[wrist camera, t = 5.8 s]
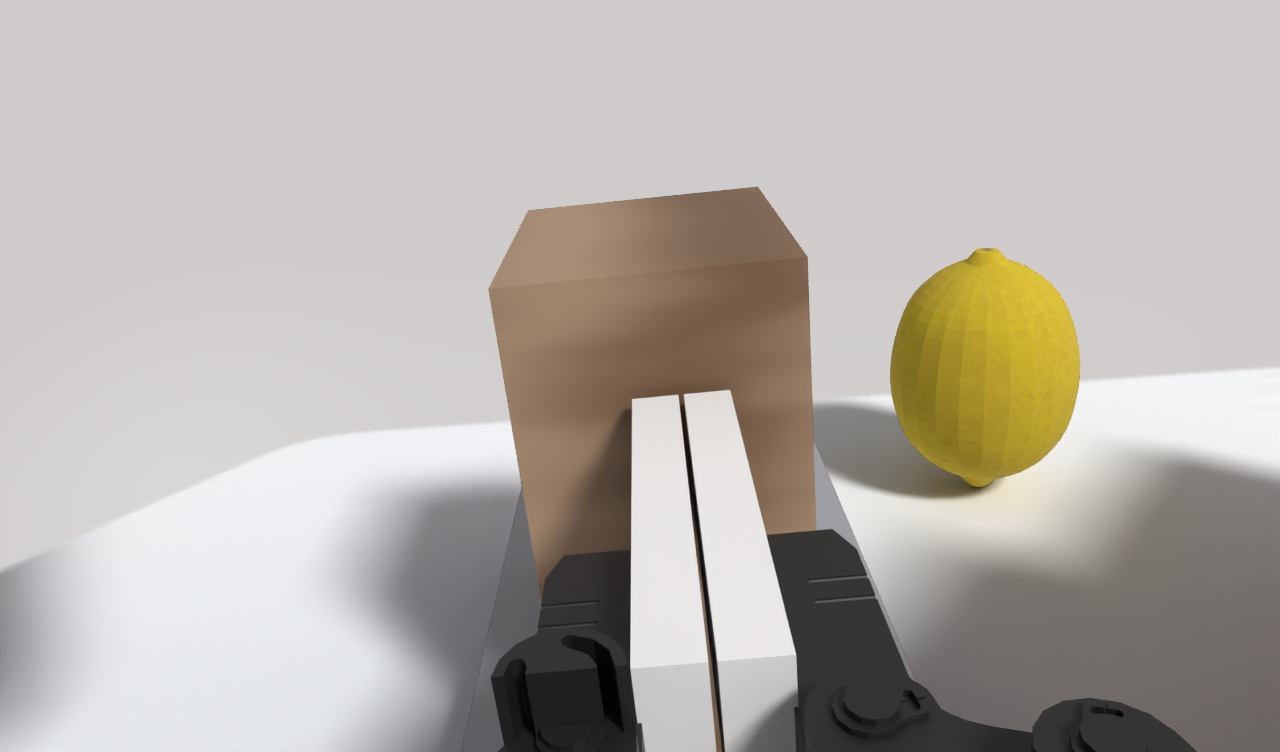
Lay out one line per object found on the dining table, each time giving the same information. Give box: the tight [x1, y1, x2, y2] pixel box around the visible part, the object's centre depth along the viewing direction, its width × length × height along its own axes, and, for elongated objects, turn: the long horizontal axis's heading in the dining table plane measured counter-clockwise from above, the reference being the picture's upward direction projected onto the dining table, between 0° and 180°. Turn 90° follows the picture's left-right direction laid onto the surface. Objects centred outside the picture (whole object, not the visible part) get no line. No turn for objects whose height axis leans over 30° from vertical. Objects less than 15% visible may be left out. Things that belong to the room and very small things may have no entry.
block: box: [489, 187, 817, 752], centre depth 19 cm, size 5×6×11 cm
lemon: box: [890, 248, 1080, 487], centre depth 29 cm, size 6×6×8 cm
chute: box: [461, 442, 916, 752], centre depth 22 cm, size 9×13×3 cm
